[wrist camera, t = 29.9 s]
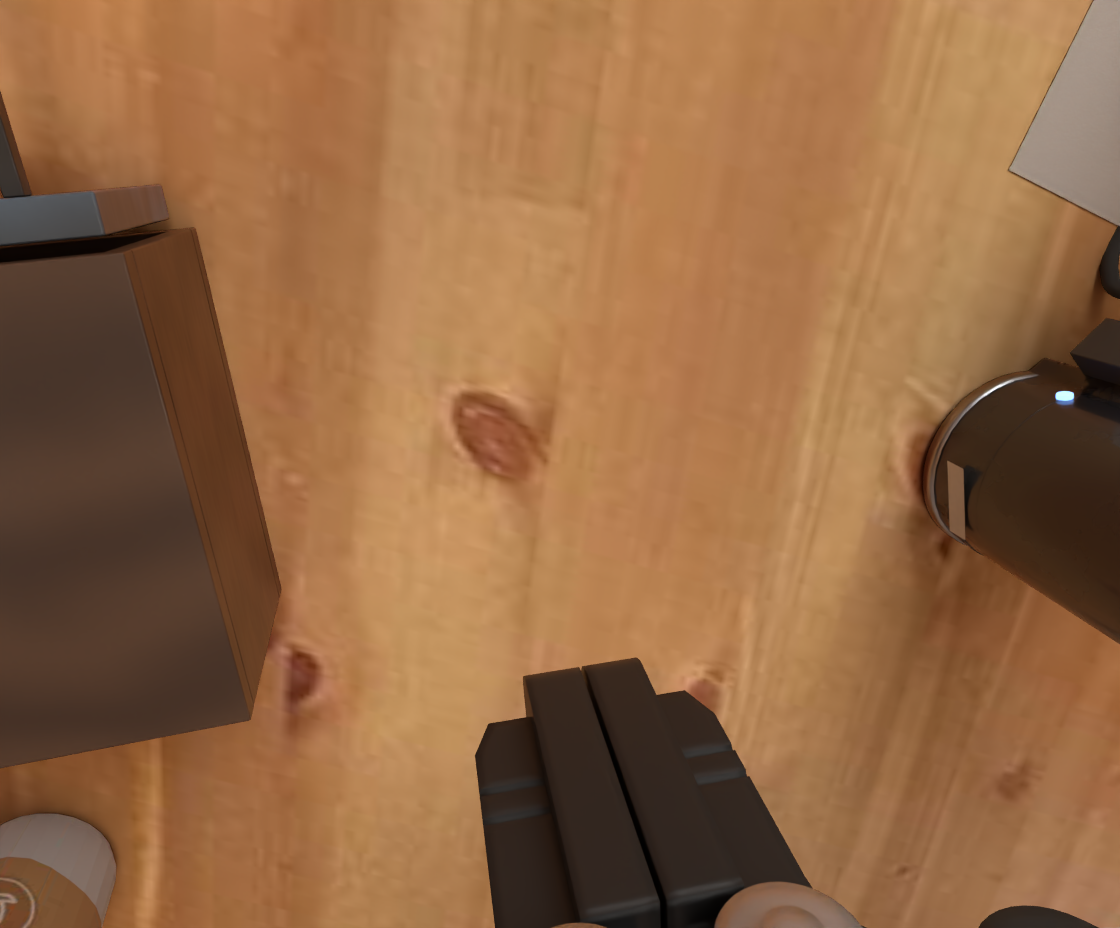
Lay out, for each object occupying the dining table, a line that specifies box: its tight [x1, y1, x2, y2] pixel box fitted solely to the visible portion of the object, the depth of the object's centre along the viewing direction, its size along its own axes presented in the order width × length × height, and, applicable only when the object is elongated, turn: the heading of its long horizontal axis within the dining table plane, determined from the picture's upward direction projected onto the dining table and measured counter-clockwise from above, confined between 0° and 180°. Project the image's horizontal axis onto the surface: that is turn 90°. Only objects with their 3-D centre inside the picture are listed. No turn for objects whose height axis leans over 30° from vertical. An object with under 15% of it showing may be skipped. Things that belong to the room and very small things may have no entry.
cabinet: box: [0, 228, 281, 768], centre depth 28 cm, size 16×13×9 cm
